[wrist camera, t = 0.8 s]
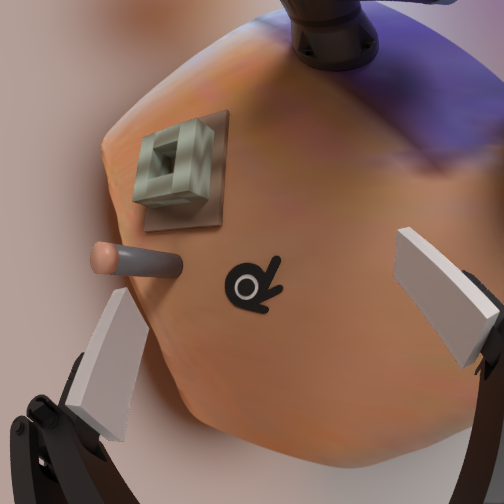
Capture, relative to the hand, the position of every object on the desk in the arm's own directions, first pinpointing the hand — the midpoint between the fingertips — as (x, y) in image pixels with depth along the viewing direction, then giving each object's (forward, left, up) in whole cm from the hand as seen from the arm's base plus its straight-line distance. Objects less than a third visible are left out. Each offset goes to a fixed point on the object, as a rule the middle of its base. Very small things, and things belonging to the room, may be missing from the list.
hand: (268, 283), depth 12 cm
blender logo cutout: (-1, -9, -23) cm, 25 cm away
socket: (-18, -25, -23) cm, 38 cm away
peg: (-2, -26, -23) cm, 34 cm away
